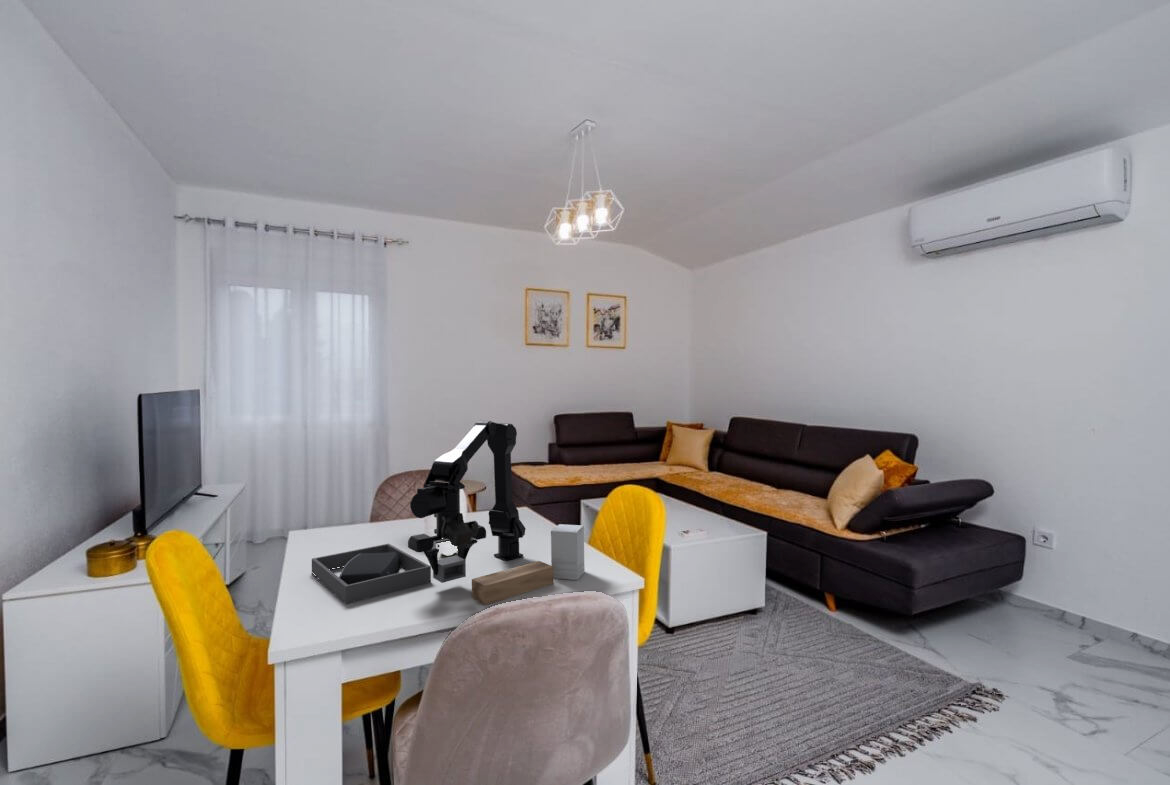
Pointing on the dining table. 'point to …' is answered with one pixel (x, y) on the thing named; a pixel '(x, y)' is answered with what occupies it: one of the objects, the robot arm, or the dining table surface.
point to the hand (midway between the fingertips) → (448, 571)
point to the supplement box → (567, 551)
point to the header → (511, 582)
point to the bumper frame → (374, 587)
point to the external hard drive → (369, 567)
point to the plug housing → (450, 569)
